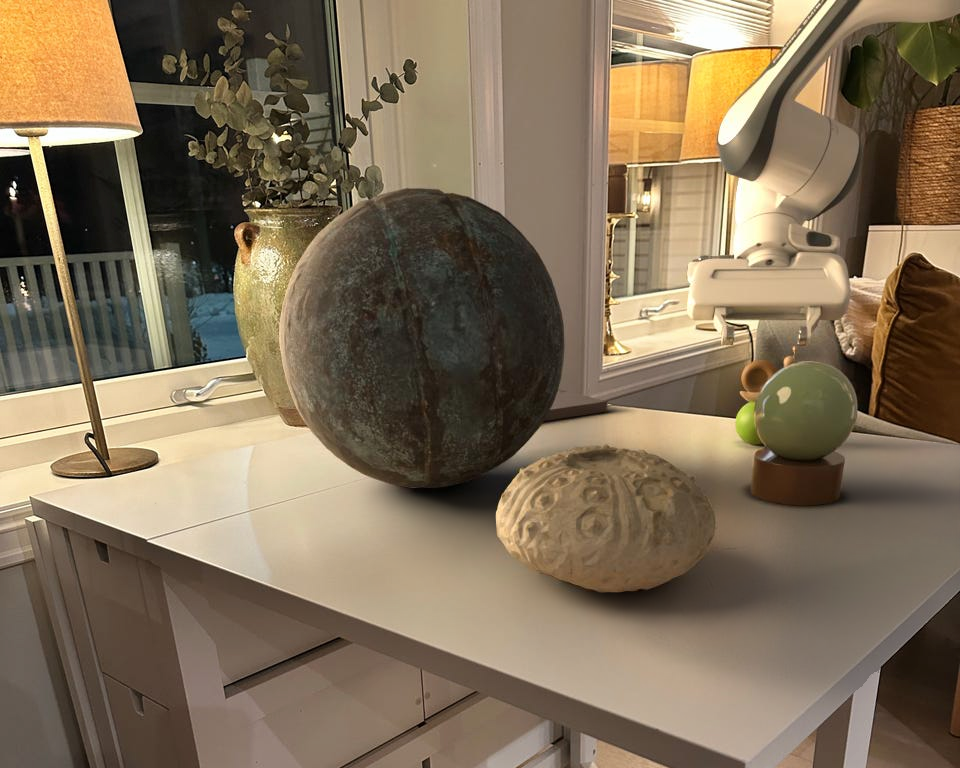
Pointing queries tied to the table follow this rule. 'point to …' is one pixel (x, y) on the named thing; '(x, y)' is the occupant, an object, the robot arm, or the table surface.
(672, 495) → the decorative shell
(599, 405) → the notebook
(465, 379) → the metal sphere
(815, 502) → the ball stand
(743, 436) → the snail figurine
